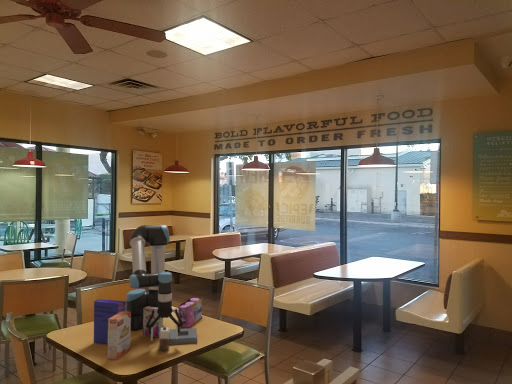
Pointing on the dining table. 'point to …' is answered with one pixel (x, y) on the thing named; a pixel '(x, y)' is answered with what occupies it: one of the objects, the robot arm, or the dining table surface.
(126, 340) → the cracker box
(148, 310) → the candy bar box
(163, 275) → the robot arm
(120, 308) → the cereal box
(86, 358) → the dining table surface
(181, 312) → the gum box
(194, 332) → the port block
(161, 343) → the holster
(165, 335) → the plug
